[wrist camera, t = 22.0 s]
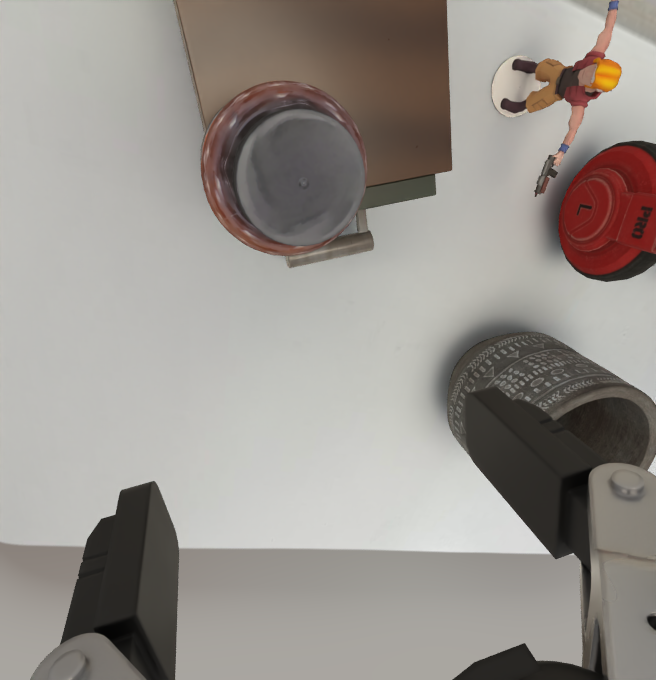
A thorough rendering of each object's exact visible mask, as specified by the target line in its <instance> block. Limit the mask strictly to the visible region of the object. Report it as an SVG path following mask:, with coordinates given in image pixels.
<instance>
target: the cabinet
mask: <svg viewBox="0 0 656 680" xmlns="http://www.w3.org/2000/svg"><path fill="white" fill-rule="evenodd" d="M173 2H174V6H175V11H176V15H177V19H178V23H179V27H180V32H181V36H182V40H183V44H184V49H185V53H186V57H187V61H188V65H189V70H190V74H191V78H192V82H193V87H194V91H195V95H196V99H197V103H198V108H199V112H200V116H201V120H202V125H203V129H204V133H205V132H206V130H207V128H208V125H209V124H210V122H211V120H212V119H213V118H214V116H215V115H216V113H218V111H219V110H220V109H221V108H223V107H224V106H225V105H226V104H227V103H228V102H229V101H230V100H232V99H233V98H234V97H235V96H237V95H238V94H240V93H242V92H243V91H245V90H247V89H249V88H251V87H253V86H255V85H259V84H262V83H266V82H272V81H294V82H299V83H304V84H309V85H311V86H313V87H316V88H318V89H320V90H322V91H324V92H326V93H327V94H328V95H330V96H332V97H333V98H334V99H335V100H336V101H337V102H338V103H339V104H340V105H341V106H342V107H343V108H344V109H345V110H346V111H347V112H348V114H349V115H350V116H351V118H352V119H353V121H354V122H355V124H356V125H357V127H358V130H359V132H360V135H361V136H362V139H363V143H364V147H365V150H366V156H367V181H366V187H369V186H374V185H379V184H385V183H390V182H395V181H400V180H405V179H410V178H416V177H421V176H426V175H431V174H436V173H442V172H447V171H451V170H452V152H451V121H450V91H449V60H448V30H447V0H173Z"/></svg>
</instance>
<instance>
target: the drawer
mask: <svg viewBox="0 0 656 680" xmlns="http://www.w3.org/2000/svg"><path fill="white" fill-rule="evenodd" d="M433 195H436V185H435V174H431V175H426V176H421V177H416V178H410V179H405V180H400V181H395V182H390V183H385V184H379V185H374V186H369V187H366V188H365V193H364V196H363V199H362V202H361V204H360V206H359V209H358V211H357V213H356V223H357V231H358V232H357V233H353V234H348V235H343V236H338V237H336V238H335V239H334V240H333V241H331V242H330V243H328V244H327V245H325V246H323V247H321V248H319V249H317V250H314V251H312V252H308V253H304V254H300V255H291V256H285V257H286V261H287V265H288V267H289V268H292V267H297V266H302V265H306V264H311V263H316V262H320V261H325V260H330V259H334V258H339V257H343V256H348V255H353V254H357V253H362V252H367V251H371V250H373V248H374V241H373V237H372V234H371V232H370V231H369V230H368V228H367V219H366V210H365V209H368V208H373V207H378V206H383V205H388V204H393V203H398V202H403V201H408V200H413V199H418V198H423V197H428V196H433Z"/></svg>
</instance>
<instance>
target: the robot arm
mask: <svg viewBox="0 0 656 680" xmlns="http://www.w3.org/2000/svg"><path fill="white" fill-rule="evenodd" d="M464 405H465V431H466V445H467V449H468V452H469V454H470V456H471V458H472V460H473V462H474V463H475V465H476V466H477V467H478V468H479V469H480V471H481V472H482V473H483V474H484V475H485V477H486V478H487V479H488V480H489V481H490V482H491V484H492V485H493V486H494V487H495V488H496V489H497V491H498V492H499V493H500V494H501V495H502V497H503V498H504V499H505V500H506V501H507V502H508V504H509V505H510V506H511V507H512V508H513V510H514V511H515V512H516V513H517V514H518V515H519V517H520V518H521V519H522V520H523V521H524V523H525V524H526V525H527V526H528V527H529V528H530V530H531V531H532V532H533V533H534V534H535V536H536V537H537V538H538V539H539V540H540V541H541V543H542V544H543V545H544V546H545V547H546V548H547V550H548V551H549V552H550V553H551V554H552V556H553V557H554V558H555V559H558V558H561V557H563V556H566V555H569V554H572V553H574V554H575V555H576V556H577V557H578V558H579V560H580V594H581V619H582V642H583V658H582V667H579V666H576V665H573V664H568V663H562V662H555V661H536V660H535V658H534V657H533V655H532V654H531V652H530V651H529V649H528V648H527V646H526V644H525V643H524V644H521V645H519V646H516V647H513V648H511V649H508V650H506V651H503V652H500V653H498V654H495V655H493V656H490V657H488V658H485V659H482V660H479V661H477V662H474V663H473V664H472V665H471V666H469V667H468V668H467V669H466V670H464V671H463V672H462V673H461V674H459V675H458V676H457V677H455V678H454V679H453V680H656V476H655V475H653V474H652V473H650V472H649V471H646V470H644V469H642V468H640V467H637V466H633V465H630V464H624V463H609V462H607V461H606V460H605V459H604V458H602V457H601V456H600V455H599V454H597V453H596V452H595V451H594V450H592V449H591V448H590V447H588V446H587V445H586V444H585V443H583V442H582V441H581V440H580V439H578V438H577V437H576V436H575V435H573V434H572V433H571V432H570V431H568V430H565V428H564V427H563V426H562V425H561V424H560V423H558V422H557V421H556V420H553V418H552V417H551V416H550V415H548V414H547V413H546V412H545V411H543V410H542V409H541V408H540V407H538V406H536V405H533V404H531V403H529V402H526V401H524V400H521V399H515V400H512V399H511V398H510V397H508V396H507V395H506V394H505V393H504V392H502V391H501V390H500V389H499V388H497V387H496V386H491V387H487V388H484V389H480V390H477V391H473V392H470V393H467V394H466V395H465V399H464ZM178 567H179V547H178V540H177V536H176V532H175V528H174V526H173V523H172V521H171V518H170V515H169V513H168V510H167V508H166V505H165V503H164V500H163V498H162V495H161V493H160V490H159V488H158V485H157V484H156V482H155V481H152V482H149V483H145V484H142V485H138V486H135V487H131V488H127V489H124V490H122V491H121V492H120V495H119V500H118V505H117V510H116V515H113V516H110V517H106V518H103V519H101V520H100V522H99V523H98V524H97V526H96V527H95V529H94V530H93V532H92V533H91V534H90V536H89V537H88V539H87V543H86V547H85V551H84V555H83V562H82V563H81V566H80V570H79V574H78V576H79V579H77V582H76V586H75V589H74V593H73V597H72V601H71V605H70V609H69V613H68V617H67V621H66V625H65V628H64V632H63V636H62V640H61V643H60V645H59V646H58V647H57V648H55V649H54V650H53V651H52V652H51V653H50V654H49V655H48V656H46V658H45V659H44V660H43V661H42V662H41V663H40V665H39V666H38V667H37V669H36V670H35V672H34V673H33V675H32V677H31V679H30V680H175V663H176V632H177V601H178V599H177V598H178V569H179V568H178Z"/></svg>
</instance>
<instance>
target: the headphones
mask: <svg viewBox="0 0 656 680" xmlns="http://www.w3.org/2000/svg"><path fill="white" fill-rule="evenodd" d="M558 231H559V237H560V243H561V247H562V250H563V252H564V254H565V257H566V259H567V261H568V262H569V263H570V264H571V265H572V267H573V268H574V269H575V270H576V271H577V272H579V273H581V274H582V275H584V276H585V277H587V278H591V279H595V280H600V281H605V282H609V281H617V280H625V279H629V278H632V277H634V276H636V275H639V274H641V273H643V272H645V271H646V270H647V269H649V268H650V267H651V266H652V265H654V264H655V263H656V144H653V143H649V142H644V141H630V142H622V143H618V144H616V145H613V146H611V147H609V148H607V149H604V150H603V151H601V152H600V153H598V154H597V155H596V156H595V157H593V158H592V159H591V160H589V161H588V162H587V164H586V165H585V166H584V167H583V168H582V169H581V170H580V172H579V173H578V174H577V175H576V176H575V178H574V179H573V181H572V183H571V184H570V186H569V188H568V189H567V192H566V194H565V197H564V199H563V202H562V205H561V210H560V214H559V228H558Z"/></svg>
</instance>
